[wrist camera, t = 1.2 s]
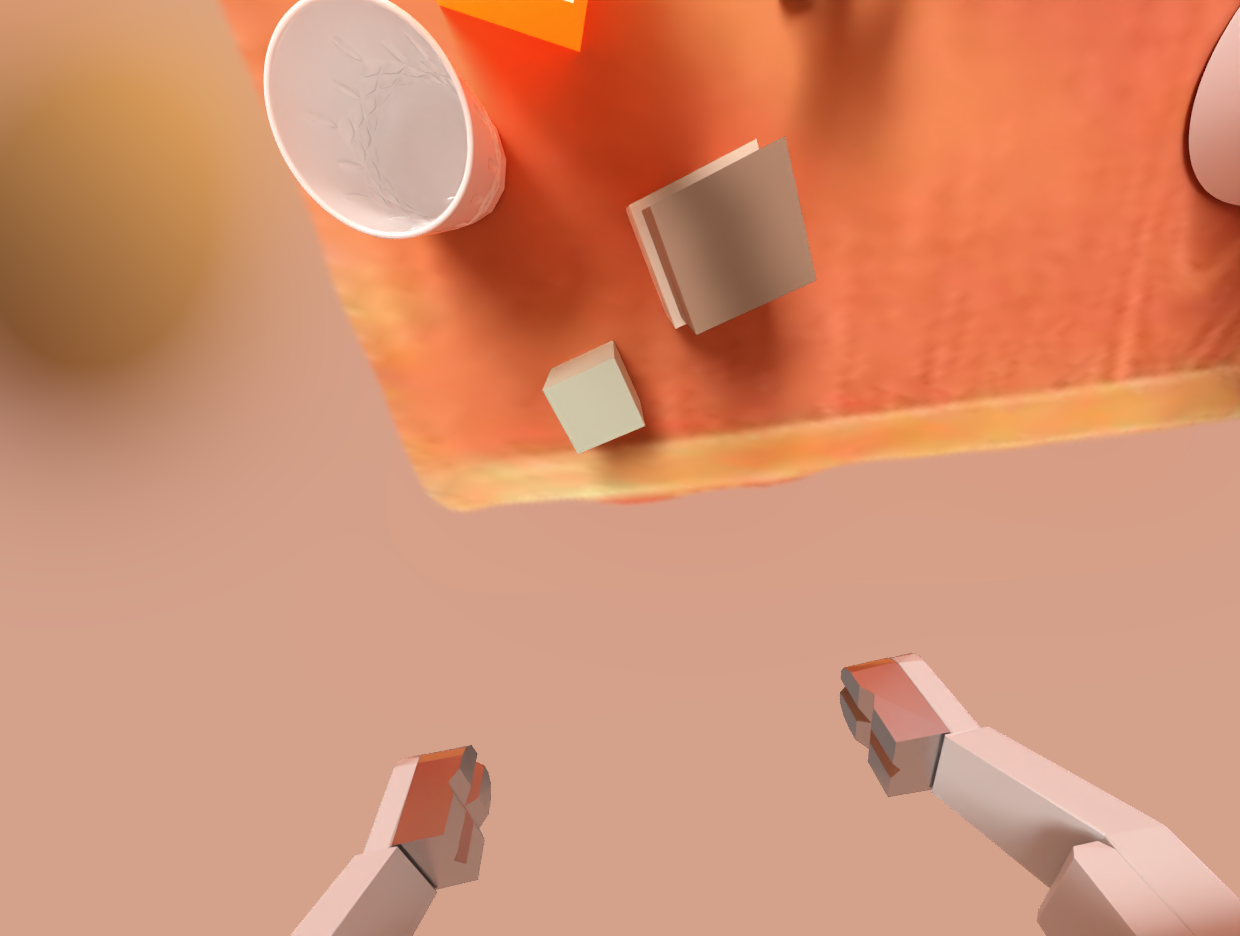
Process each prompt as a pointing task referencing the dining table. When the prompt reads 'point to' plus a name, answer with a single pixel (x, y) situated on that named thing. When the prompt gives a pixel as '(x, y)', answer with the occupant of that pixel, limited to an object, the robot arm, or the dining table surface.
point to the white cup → (379, 120)
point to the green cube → (594, 397)
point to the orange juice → (531, 17)
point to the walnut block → (733, 239)
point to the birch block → (644, 235)
